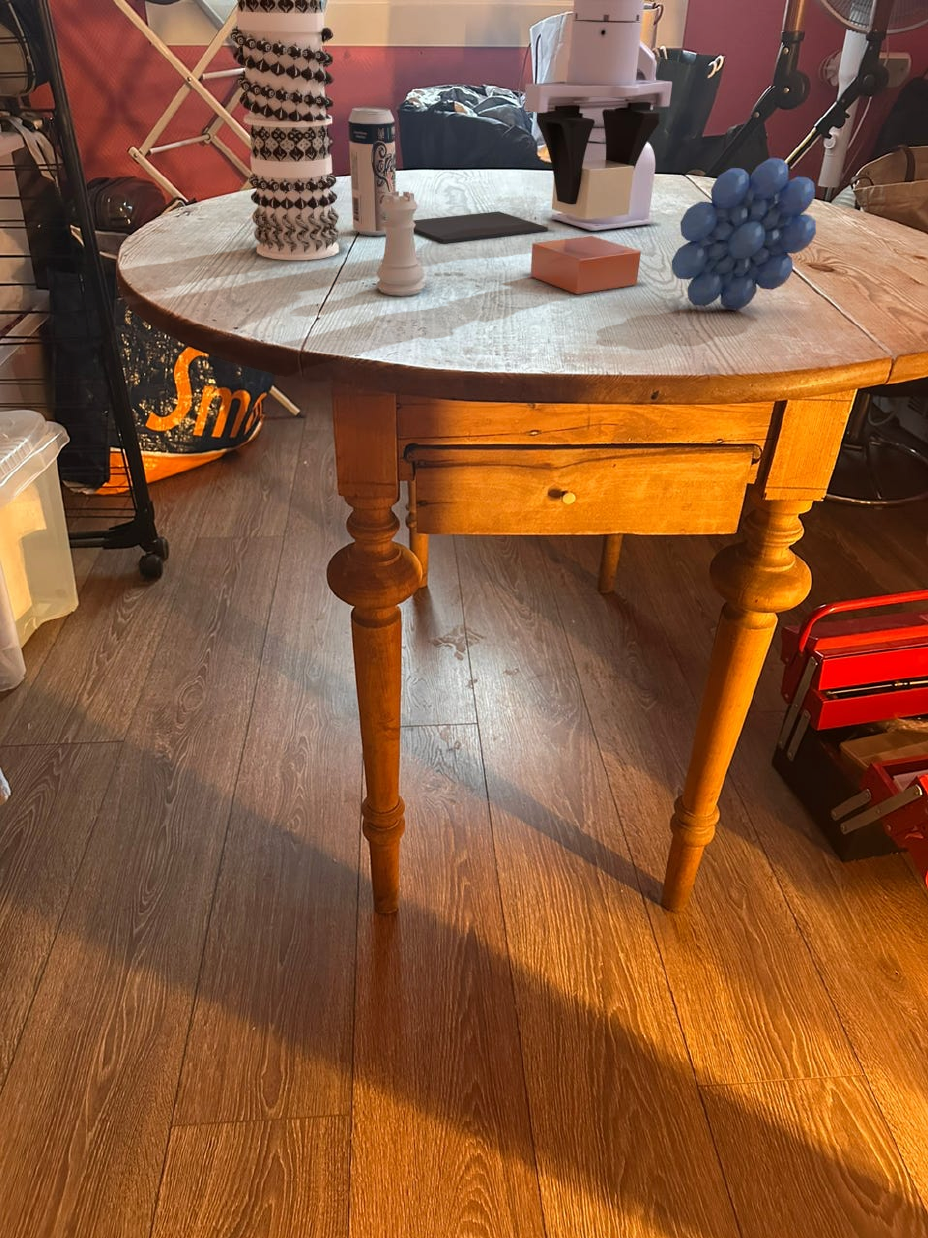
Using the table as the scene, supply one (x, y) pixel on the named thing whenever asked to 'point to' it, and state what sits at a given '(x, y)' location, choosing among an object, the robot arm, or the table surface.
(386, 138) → the beer can
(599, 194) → the beige cube
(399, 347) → the table surface
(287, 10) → the decorative candle
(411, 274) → the rook chess piece
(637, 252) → the glossy orange square block
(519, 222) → the rubber mat
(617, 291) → the table surface
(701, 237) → the blue beaded flower
